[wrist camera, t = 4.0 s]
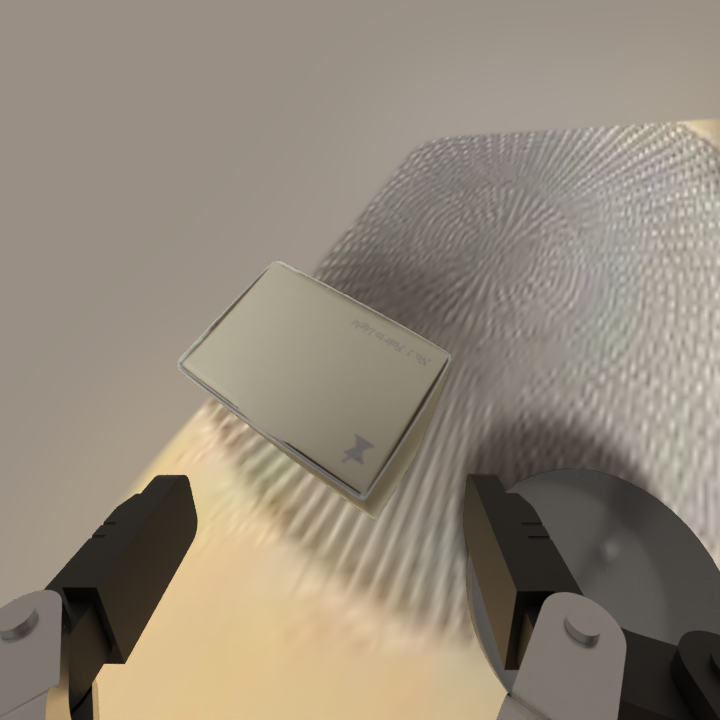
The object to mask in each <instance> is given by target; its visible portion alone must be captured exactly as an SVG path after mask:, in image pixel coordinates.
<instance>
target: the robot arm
mask: <svg viewBox="0 0 720 720" xmlns="http://www.w3.org/2000/svg"><path fill="white" fill-rule="evenodd" d="M197 522H198V520H197V514H196V509H195V505H194V500H193V496H192V491H191V487H190V482H189V479H188V477H187V476H186V475H158V476H156V477H155V478H154V479H153V480H152V481H151V482H150V483H149V484H148V486H147V487H146V488H145V489H144V490H143V492H142V493H141V494H135V495H134V496H132V497H131V498H129V499H128V500H126V501H125V502H124V503H122V504H121V505H119V506H118V507H117V508H116V509H115V510H114V511H113V512H112V513H111V515H110V516H109V517H108V518H107V519H106V520H105V521H104V524H103V525H101V526H100V527H99V528H98V529H97V530H96V532H95V533H94V534H93V535H92V538H91V539H88V541H87V542H86V543H85V544H84V545H83V546H82V547H81V548H80V550H79V551H78V552H77V553H76V554H75V555H74V556H73V557H72V559H71V560H70V561H69V562H68V563H67V564H66V566H65V567H64V568H63V569H62V570H61V571H60V572H59V573H58V574H57V576H56V577H55V578H54V579H53V580H52V581H51V582H50V583H49V585H48V586H47V587H46V588H45V589H44V590H41V591H36V592H32V593H29V594H26V595H24V596H21V597H19V598H17V599H15V600H13V601H11V602H10V603H8V604H7V605H5V606H3V607H2V608H0V720H99V701H98V686H97V682H96V679H95V678H96V676H97V674H98V673H99V671H100V669H101V668H102V666H103V664H125V663H126V661H127V659H128V657H129V656H130V654H131V652H132V650H133V648H134V647H135V645H136V643H137V641H138V639H139V637H140V636H141V634H142V632H143V630H144V628H145V627H146V625H147V623H148V621H149V619H150V618H151V616H152V614H153V612H154V610H155V609H156V607H157V605H158V603H159V601H160V600H161V598H162V596H163V594H164V592H165V591H166V589H167V587H168V585H169V583H170V582H171V580H172V578H173V576H174V574H175V573H176V571H177V569H178V567H179V565H180V564H181V562H182V560H183V558H184V556H185V555H186V553H187V551H188V549H189V547H190V546H191V544H192V542H193V540H194V538H195V535H196V531H197ZM463 527H464V535H465V540H466V544H467V547H468V550H469V554H470V557H471V560H472V564H473V567H474V570H475V574H476V577H477V580H478V584H479V587H480V591H481V594H482V597H483V601H484V604H485V607H486V611H487V614H488V617H489V621H490V624H491V627H492V631H493V634H494V638H495V641H496V644H497V648H498V651H499V654H500V658H501V661H502V664H503V668H504V670H519V672H518V674H517V677H516V680H515V683H514V685H513V688H512V690H511V692H510V693H508V694H507V695H506V697H505V699H504V701H503V704H502V706H501V709H500V711H499V714H498V717H497V720H720V635H718V634H715V633H712V632H708V631H701V630H698V631H690V632H687V633H685V634H684V635H683V636H682V637H681V638H680V641H679V643H678V646H676V645H673V644H670V643H666V642H663V641H660V640H656V639H653V638H650V637H647V636H643V635H640V634H637V633H634V632H631V631H628V630H626V629H624V628H622V627H620V626H619V625H618V623H617V622H616V621H615V619H614V618H613V617H612V616H611V615H610V614H609V613H608V612H607V611H606V610H605V609H604V608H602V607H601V606H600V605H598V604H597V603H595V602H594V601H592V600H590V599H588V598H586V597H585V596H584V595H583V593H582V591H581V590H580V588H579V586H578V584H577V583H576V581H575V579H574V577H573V576H572V574H571V572H570V570H569V569H568V567H567V565H566V563H565V562H564V560H563V558H562V556H561V555H560V553H559V551H558V549H557V548H556V546H555V544H554V542H553V541H552V540H551V539H550V535H549V534H548V532H547V530H546V528H545V527H544V526H543V525H542V521H541V520H540V518H539V516H538V514H537V513H536V511H535V509H534V507H533V506H532V505H531V504H530V503H529V502H527V501H526V500H525V499H524V498H523V497H522V496H521V495H519V494H518V493H506V492H505V490H504V488H503V486H502V484H501V482H500V480H499V478H498V476H497V475H496V474H468V476H467V480H466V491H465V502H464V514H463Z"/></svg>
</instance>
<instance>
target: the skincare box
mask: <svg viewBox="0 0 720 720" xmlns="http://www.w3.org/2000/svg"><path fill="white" fill-rule="evenodd" d="M451 363H452V356H451V354H450V353H448V352H447V351H445V350H444V349H442V348H440V347H439V346H437V345H435V344H434V343H432V342H431V341H429V340H427V339H425V338H423V337H422V336H420V335H419V334H417V333H415V332H414V331H412V330H410V329H408V328H406V327H404V326H403V325H401V324H399V323H398V322H396V321H394V320H392V319H390V318H388V317H386V316H385V315H383V314H381V313H379V312H377V311H376V310H374V309H372V308H370V307H368V306H367V305H365V304H363V303H360V302H359V301H357V300H355V299H353V298H351V297H349V296H348V295H346V294H344V293H342V292H340V291H338V290H336V289H334V288H332V287H331V286H329V285H327V284H325V283H323V282H321V281H319V280H317V279H315V278H313V277H311V276H309V275H308V274H306V273H304V272H301V271H300V270H298V269H296V268H294V267H292V266H290V265H288V264H286V263H284V262H282V261H280V260H276V261H273V262H272V263H271V264H270V265H269V266H268V267H267V268H266V269H265V270H264V271H263V272H262V273H261V274H260V275H259V276H258V277H257V278H256V279H255V280H254V281H253V282H252V283H251V284H250V285H249V286H248V287H247V288H246V289H245V290H244V291H243V292H242V293H241V294H240V295H239V297H237V299H236V300H235V301H234V302H233V303H231V304H230V305H229V307H228V308H227V309H226V310H225V311H224V312H223V313H222V314H221V315H220V316H219V317H218V318H217V319H216V320H215V321H214V322H213V323H212V324H211V325H210V326H209V327H208V328H207V330H206V331H205V332H204V333H203V334H202V335H201V336H200V337H199V338H198V339H197V340H196V341H195V342H194V343H193V344H192V345H191V346H190V347H189V348H188V349H187V351H186V352H185V353H184V354H183V355H182V356H181V357H180V358H179V360H178V361H177V368H178V369H179V370H180V371H181V372H182V373H183V374H184V375H185V376H186V377H187V378H189V379H190V380H191V381H193V382H194V383H195V384H196V385H198V386H199V387H200V388H201V389H203V390H204V391H205V392H207V393H208V394H209V395H210V396H212V397H213V398H214V399H216V400H217V401H218V402H219V403H221V404H222V405H223V406H224V407H226V408H227V409H228V410H230V411H231V412H232V413H234V414H235V415H236V416H237V417H239V418H240V419H241V420H243V421H244V422H245V423H246V424H248V425H249V426H250V427H252V428H253V429H254V430H255V431H257V432H258V433H259V434H260V435H262V436H263V437H264V438H266V439H267V440H268V441H269V442H271V443H272V444H273V445H274V446H276V447H277V448H278V449H280V450H281V451H282V452H283V453H285V454H286V455H287V456H289V457H290V458H291V459H293V460H294V461H295V462H296V463H298V464H299V465H300V466H302V467H303V468H304V469H306V470H307V471H308V472H309V473H311V474H312V475H313V476H315V477H316V478H317V479H319V480H320V481H321V482H323V483H324V484H325V485H327V486H328V487H329V488H331V489H332V490H333V491H335V492H336V493H337V494H339V495H340V496H341V497H343V498H344V499H345V500H347V501H348V502H350V503H351V504H352V505H354V506H355V507H357V508H358V509H359V510H361V511H362V512H364V513H365V514H367V515H368V516H369V517H371V518H372V519H377V517H378V516H379V515H380V513H381V512H382V510H383V508H384V507H385V505H386V504H387V502H388V501H389V499H390V498H391V496H392V494H393V493H394V491H395V490H396V488H397V486H398V485H399V483H400V482H401V480H402V478H403V477H404V475H405V473H406V472H407V470H408V468H409V467H410V465H411V463H412V461H413V460H414V458H415V456H416V454H417V452H418V449H419V447H420V445H421V442H422V440H423V437H424V435H425V433H426V430H427V427H428V425H429V422H430V420H431V417H432V415H433V412H434V410H435V407H436V404H437V402H438V399H439V396H440V394H441V391H442V388H443V386H444V383H445V380H446V377H447V374H448V372H449V369H450V366H451Z"/></svg>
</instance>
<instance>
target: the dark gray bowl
mask: <svg viewBox="0 0 720 720" xmlns="http://www.w3.org/2000/svg"><path fill="white" fill-rule="evenodd" d="M505 492H506V493H518V494H519V495H521V496H522V497H523V498H524V499H525V500H526V501H527V502H529V503H530V504H531V505H532V506H533V507H534V509H535V511H536V513H537V514H538V516H539V518H540V520H541V521H542V525H543V526H544V527H545V528H546V530H547V532H548V534H549V535H550V539H551V540H552V541H553V542H554V544H555V546H556V548H557V549H558V551H559V553H560V555H561V556H562V558H563V560H564V562H565V563H566V565H567V567H568V569H569V570H570V572H571V574H572V576H573V577H574V579H575V581H576V583H577V584H578V586H579V588H580V590H581V591H582V593H583V595H584V596H585V597H586V598H588V599H590V600H592V601H594V602H595V603H597V604H598V605H600V606H601V607H602V608H604V609H605V610H606V611H607V612H608V613H609V614H610V615H611V616H612V617H613V618H614V619H615V621H616V622H617V623H618V625H619V626H620V627H622V628H624V629H626V630H628V631H631V632H634V633H637V634H640V635H643V636H647V637H650V638H653V639H656V640H660V641H663V642H666V643H670V644H673V645H676V646H678V643H679V641H680V638H681V637H682V636H683V635H684V634H685V633H687V632H690V631H698V630H701V631H708V632H712V633H715V634H718V635H720V571H719V570H718V568H717V566H716V564H715V563H714V561H713V559H712V557H711V556H710V554H709V553H708V551H707V550H706V549H705V547H704V546H703V544H702V543H701V542H700V540H699V539H698V538H697V537H696V535H695V534H694V533H693V532H692V531H691V529H690V528H689V527H688V526H687V525H686V524H685V523H684V522H683V521H682V520H681V519H680V518H679V517H678V516H677V515H676V514H675V513H674V512H673V511H672V510H671V509H669V508H668V507H667V506H666V505H664V504H663V503H662V502H661V501H659V500H658V499H657V498H655V497H654V496H652V495H651V494H649V493H648V492H646V491H645V490H643V489H641V488H639V487H637V486H635V485H633V484H632V483H630V482H628V481H625V480H623V479H620V478H618V477H615V476H613V475H609V474H605V473H602V472H598V471H593V470H586V469H558V470H551V471H547V472H543V473H540V474H536V475H534V476H531V477H529V478H526V479H524V480H522V481H519V482H517V483H516V484H514V485H512V486H511V487H509V488H508V489H506V490H505ZM466 586H467V599H468V605H469V610H470V615H471V620H472V623H473V626H474V630H475V633H476V636H477V639H478V641H479V644H480V646H481V648H482V651H483V653H484V655H485V657H486V659H487V661H488V663H489V665H490V666H491V668H492V670H493V672H494V674H495V675H496V677H497V678H498V680H499V681H500V682H501V684H502V685H503V687H504V688H505V690H506V691H507V692H508V693H510V692H511V690H512V688H513V685H514V683H515V680H516V677H517V674H518V672H519V670H504V668H503V664H502V661H501V658H500V654H499V651H498V648H497V644H496V641H495V638H494V634H493V631H492V627H491V624H490V621H489V617H488V614H487V611H486V607H485V604H484V601H483V597H482V594H481V591H480V587H479V584H478V580H477V577H476V574H475V570H474V567H473V564H472V560H471V557H470V554H468V561H467V574H466Z"/></svg>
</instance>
